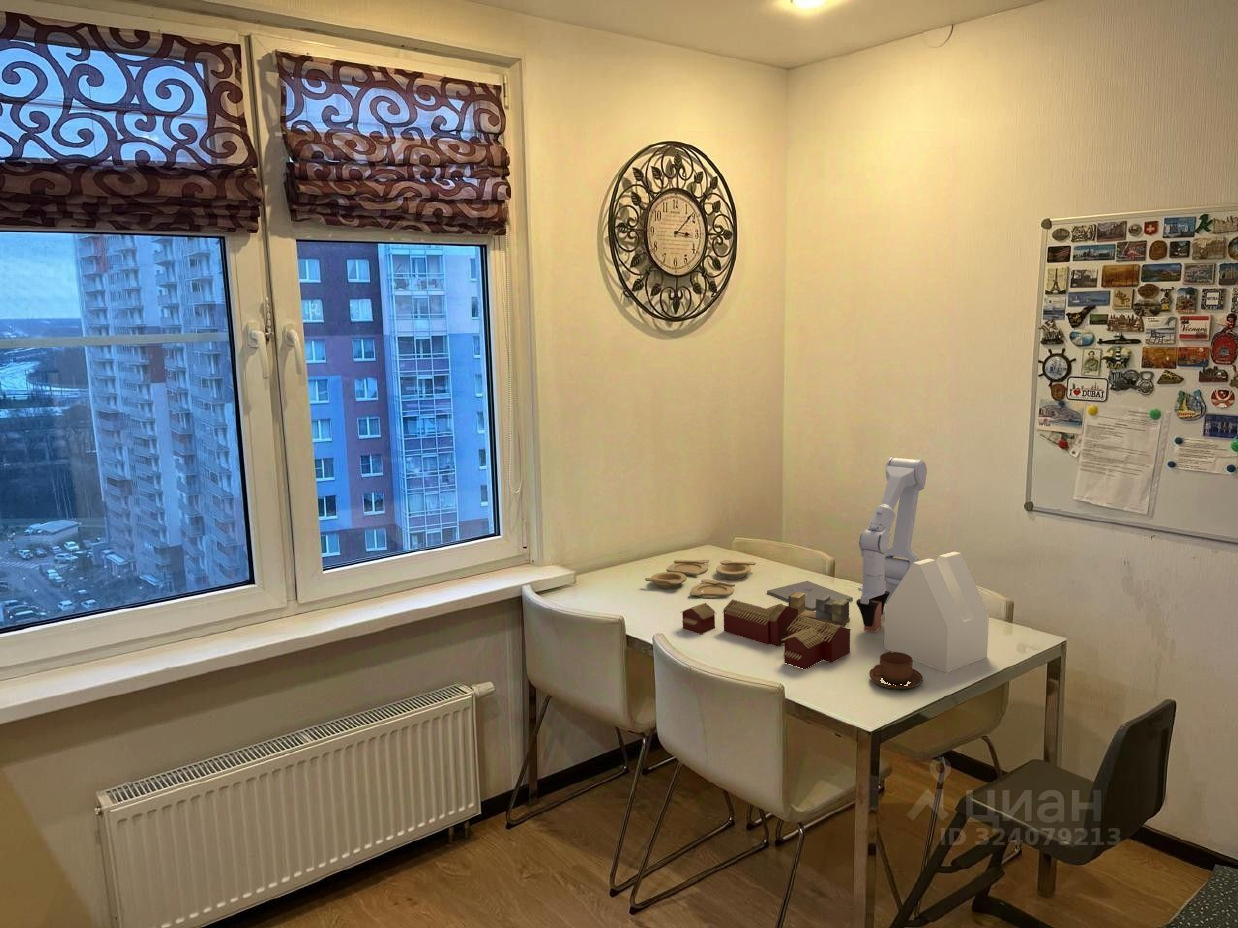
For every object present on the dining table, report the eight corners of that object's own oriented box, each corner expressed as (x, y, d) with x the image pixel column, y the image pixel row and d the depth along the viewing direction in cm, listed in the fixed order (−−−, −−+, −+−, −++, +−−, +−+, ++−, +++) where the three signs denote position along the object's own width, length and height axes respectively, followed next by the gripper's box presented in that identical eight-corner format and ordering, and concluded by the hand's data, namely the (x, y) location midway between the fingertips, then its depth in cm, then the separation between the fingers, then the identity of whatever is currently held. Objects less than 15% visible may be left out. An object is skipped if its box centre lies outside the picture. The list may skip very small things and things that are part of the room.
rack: (849, 620, 253) (849, 598, 251) (843, 626, 249) (844, 603, 248) (794, 611, 262) (794, 589, 261) (787, 616, 258) (787, 594, 257)
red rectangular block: (881, 626, 248) (881, 601, 247) (875, 632, 244) (875, 607, 243) (870, 624, 250) (870, 600, 248) (864, 630, 246) (864, 605, 244)
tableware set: (678, 562, 315) (678, 551, 315) (759, 570, 303) (759, 558, 302) (636, 593, 284) (636, 580, 284) (725, 604, 272) (724, 591, 271)
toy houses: (855, 650, 233) (856, 613, 231) (810, 675, 219) (810, 636, 217) (720, 612, 265) (719, 578, 263) (672, 631, 251) (671, 596, 249)
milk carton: (884, 648, 233) (885, 554, 228) (924, 634, 241) (926, 544, 236) (946, 672, 217) (949, 572, 212) (987, 657, 225) (990, 560, 220)
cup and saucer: (900, 698, 205) (901, 672, 204) (858, 681, 214) (858, 656, 213) (933, 683, 212) (933, 658, 210) (890, 667, 221) (891, 643, 220)
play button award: (811, 608, 261) (767, 590, 278) (811, 613, 261) (767, 595, 278) (852, 597, 269) (807, 580, 286) (852, 602, 269) (807, 585, 286)
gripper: (868, 564, 252) (867, 610, 254) (849, 578, 240) (849, 627, 243) (893, 567, 248) (892, 615, 251) (875, 582, 236) (875, 631, 239)
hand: (872, 621), depth 246 cm, fingers open, 7 cm apart
